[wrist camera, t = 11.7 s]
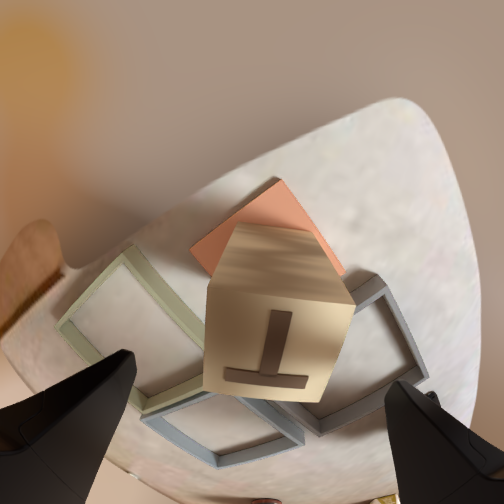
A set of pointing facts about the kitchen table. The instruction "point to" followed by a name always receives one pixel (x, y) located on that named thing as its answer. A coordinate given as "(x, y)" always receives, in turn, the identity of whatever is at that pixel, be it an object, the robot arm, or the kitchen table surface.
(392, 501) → the juice carton
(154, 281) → the tray olive
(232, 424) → the kitchen table surface
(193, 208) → the kitchen table surface
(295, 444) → the tray slate
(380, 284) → the tray charcoal
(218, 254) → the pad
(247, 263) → the letter block
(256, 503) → the supplement bottle
